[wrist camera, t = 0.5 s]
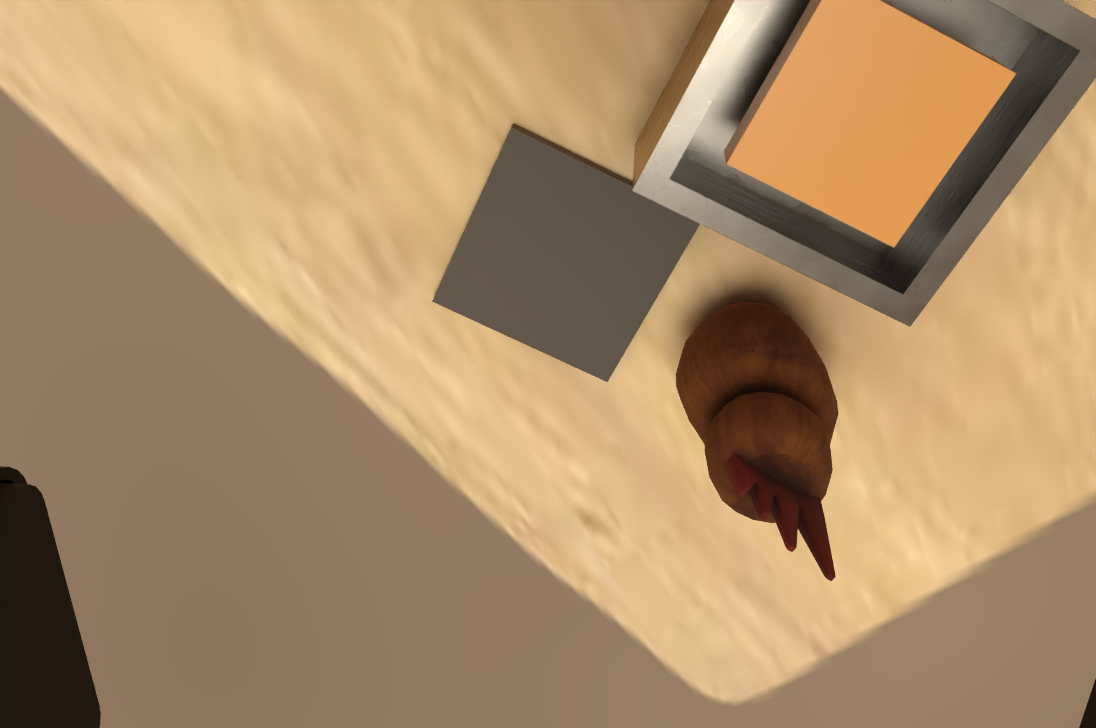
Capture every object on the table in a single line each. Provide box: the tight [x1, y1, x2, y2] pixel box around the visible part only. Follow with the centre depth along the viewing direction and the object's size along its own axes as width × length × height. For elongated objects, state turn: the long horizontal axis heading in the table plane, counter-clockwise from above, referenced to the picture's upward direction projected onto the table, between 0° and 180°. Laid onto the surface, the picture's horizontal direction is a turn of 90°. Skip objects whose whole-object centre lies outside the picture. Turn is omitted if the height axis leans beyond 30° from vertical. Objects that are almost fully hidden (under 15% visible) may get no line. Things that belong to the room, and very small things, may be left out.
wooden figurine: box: [676, 301, 838, 581], centre depth 39 cm, size 7×6×15 cm
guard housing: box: [632, 0, 1096, 326], centre depth 37 cm, size 12×12×6 cm
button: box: [724, 0, 1016, 247], centre depth 35 cm, size 7×7×2 cm
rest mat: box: [432, 124, 700, 382], centre depth 44 cm, size 9×9×1 cm
